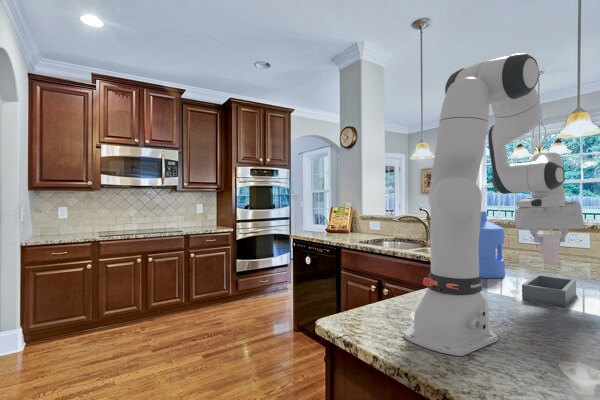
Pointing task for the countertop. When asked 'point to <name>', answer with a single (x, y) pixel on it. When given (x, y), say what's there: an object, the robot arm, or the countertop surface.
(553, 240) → the smoothie
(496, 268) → the water jug
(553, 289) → the crate
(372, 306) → the countertop surface
